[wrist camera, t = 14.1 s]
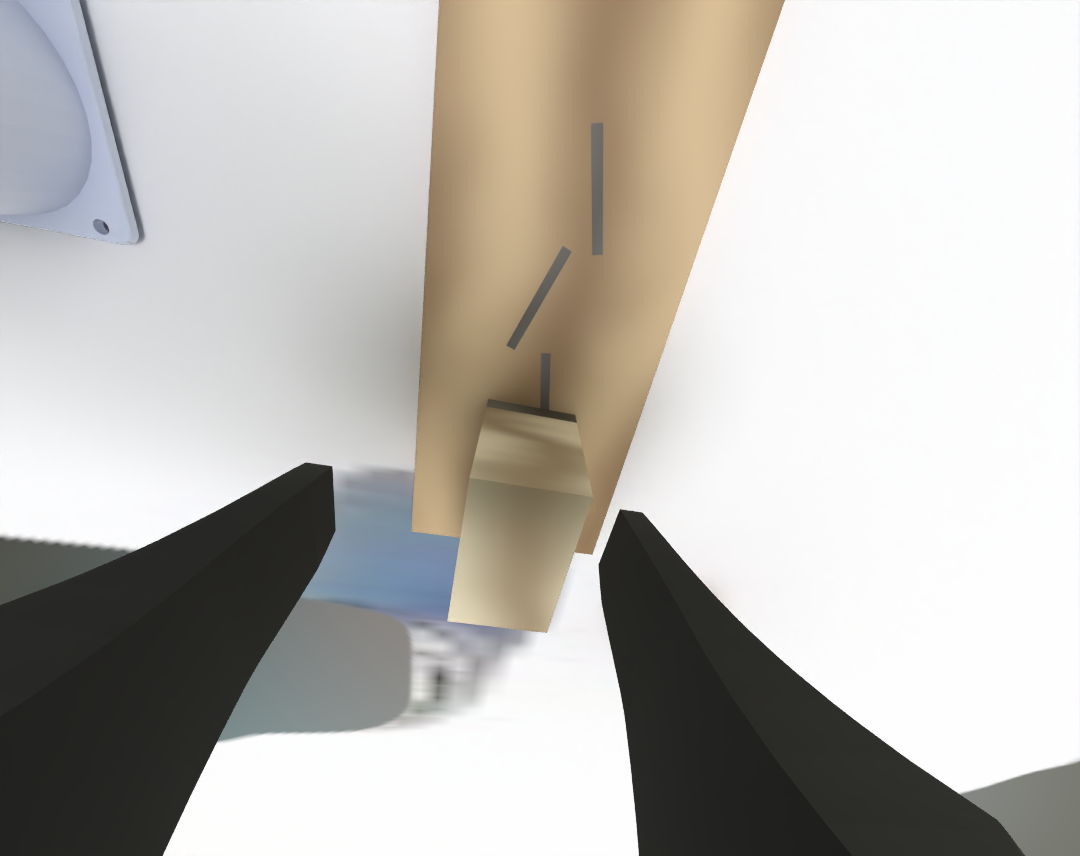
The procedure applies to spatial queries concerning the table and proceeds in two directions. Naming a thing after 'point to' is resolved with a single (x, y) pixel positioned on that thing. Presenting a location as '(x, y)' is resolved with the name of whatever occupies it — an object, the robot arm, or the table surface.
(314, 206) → the table surface
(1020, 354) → the table surface
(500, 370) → the board
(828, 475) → the table surface
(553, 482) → the block
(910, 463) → the table surface
